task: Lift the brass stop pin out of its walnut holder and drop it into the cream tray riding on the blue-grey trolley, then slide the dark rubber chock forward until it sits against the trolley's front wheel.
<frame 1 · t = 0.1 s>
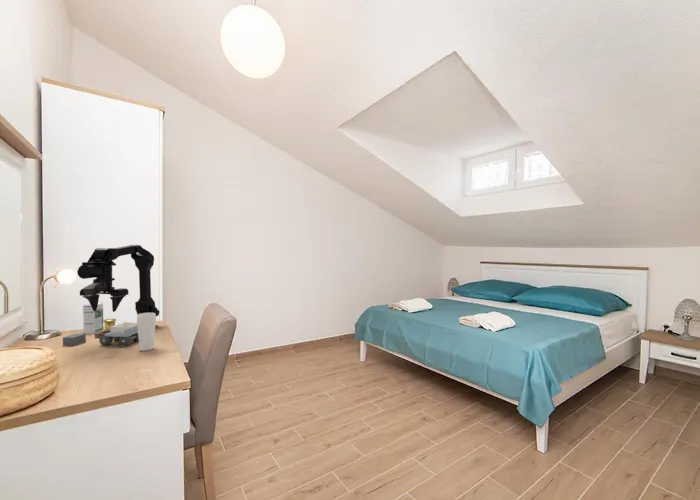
hand: (104, 311, 143), 15 cm above the table, tool pointing down, fingers open, 9 cm apart
tray: (125, 330, 147), resting on trolley
drinking glass: (146, 349, 137), on the table
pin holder: (109, 335, 156), on the table
syrup box: (93, 332, 162), on the table
chock: (74, 344, 144), on the table
stop pin: (109, 327, 156), in the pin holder
trolley: (124, 342, 146), on the table
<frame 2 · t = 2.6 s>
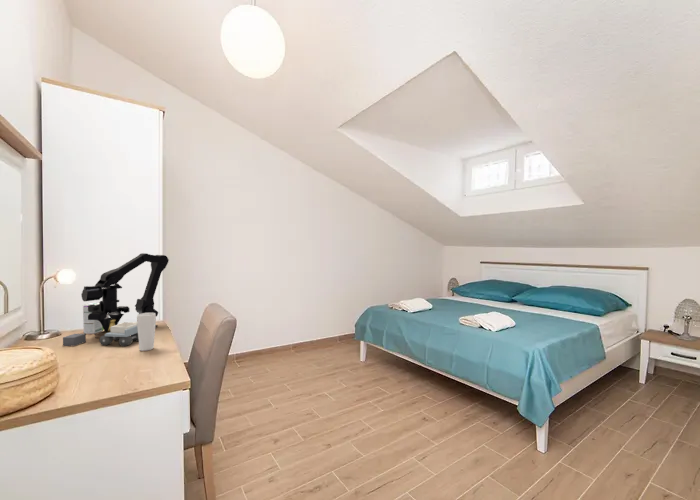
hand: (109, 330, 156), 3 cm above the table, tool pointing down, fingers closed on stop pin, 4 cm apart
stop pin: (109, 327, 156), in the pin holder, touching gripper
everything else where it was.
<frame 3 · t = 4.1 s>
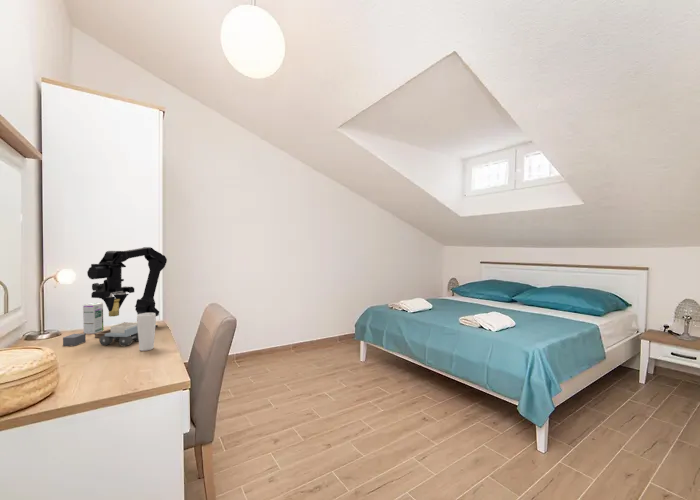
hand: (114, 310, 153), 13 cm above the table, tool pointing down, fingers closed on stop pin, 4 cm apart
stop pin: (113, 307, 153), point 14 cm above the table, touching gripper
everything else where it was.
when the fingers open (9 cm above the table, at t = 5.6 s): stop pin drops 1 cm, resting on tray.
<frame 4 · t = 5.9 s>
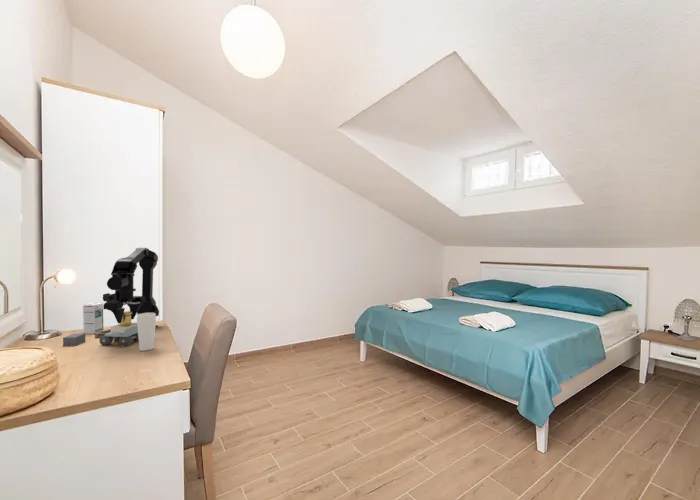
hand: (125, 321, 147), 9 cm above the table, tool pointing down, fingers open, 7 cm apart
stop pin: (125, 320, 147), in the tray, point 10 cm above the table
everything else where it was.
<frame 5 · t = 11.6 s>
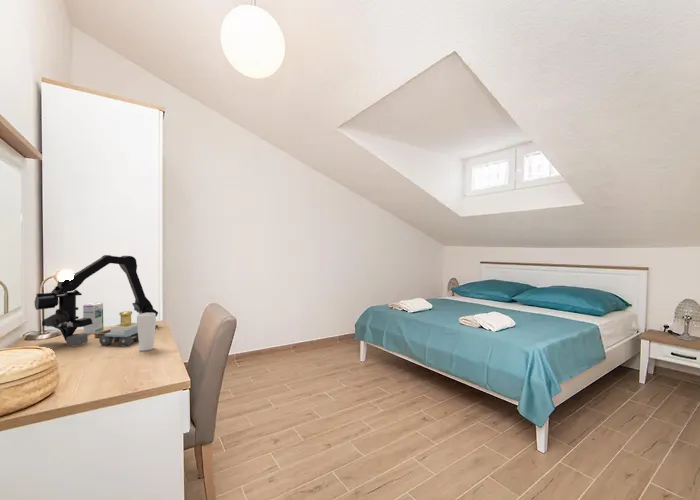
hand: (67, 341, 144), 1 cm above the table, tool pointing down, fingers closed
chock: (77, 343, 144), on the table, touching gripper
everything else where it was.
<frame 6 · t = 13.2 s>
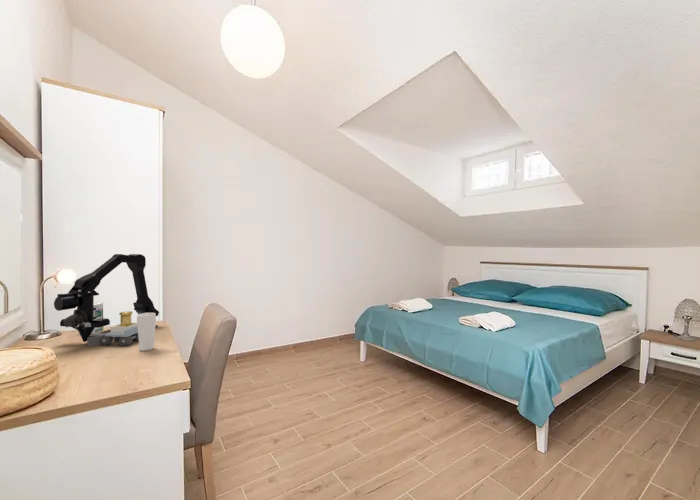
hand: (85, 341, 143), 1 cm above the table, tool pointing down, fingers closed
chock: (97, 343, 144), on the table, touching gripper, trolley
everything else where it was.
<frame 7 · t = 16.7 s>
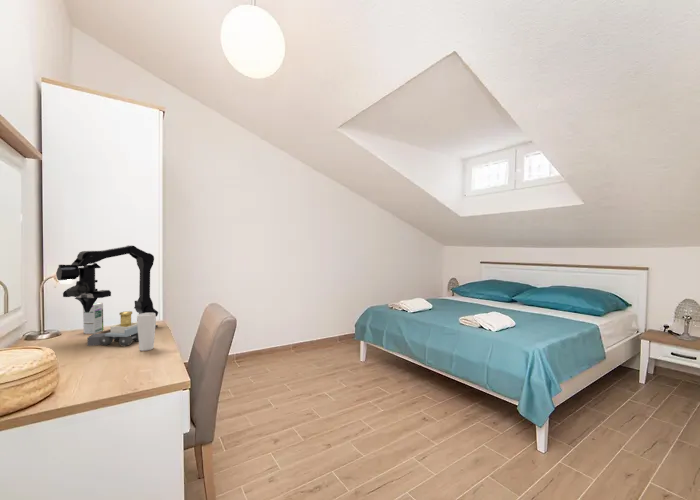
hand: (87, 312, 148), 13 cm above the table, tool pointing down, fingers closed
chock: (97, 343, 145), on the table
everything else where it was.
at the end: stop pin inside the target area on the tray (0.1 cm from its centre), point 4.4 cm above the tray's base; chock 1.5 cm from the target spot, on the table; chock tilted 0° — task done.
